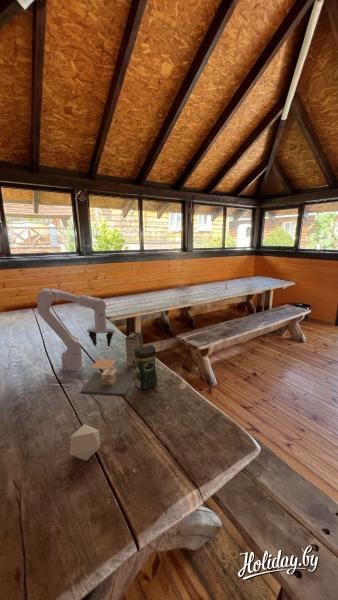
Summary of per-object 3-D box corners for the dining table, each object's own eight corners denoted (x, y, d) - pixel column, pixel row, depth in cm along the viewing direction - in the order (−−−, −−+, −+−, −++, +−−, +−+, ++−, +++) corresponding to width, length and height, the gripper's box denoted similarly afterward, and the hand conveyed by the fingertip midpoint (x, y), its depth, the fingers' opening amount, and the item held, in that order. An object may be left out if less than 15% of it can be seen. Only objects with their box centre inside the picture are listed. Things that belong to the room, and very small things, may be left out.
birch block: (102, 384, 111) (101, 374, 110) (106, 378, 116) (105, 369, 115) (113, 385, 110) (112, 375, 109) (116, 379, 115) (116, 369, 114)
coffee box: (132, 358, 138) (131, 331, 134) (143, 359, 137) (142, 332, 133) (126, 366, 129) (125, 337, 125) (138, 367, 128) (137, 338, 124)
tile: (91, 369, 126) (91, 368, 126) (98, 360, 136) (98, 359, 136) (109, 370, 125) (109, 369, 125) (116, 361, 135) (116, 360, 135)
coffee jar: (151, 377, 118) (151, 341, 114) (159, 385, 111) (159, 347, 107) (133, 383, 113) (131, 346, 109) (139, 392, 107) (138, 352, 102)
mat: (80, 392, 106) (80, 390, 106) (95, 373, 122) (95, 372, 122) (125, 395, 104) (125, 393, 104) (134, 375, 120) (134, 374, 120)
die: (82, 440, 81) (62, 429, 75) (106, 427, 81) (87, 415, 75) (82, 468, 75) (60, 459, 69) (108, 454, 74) (87, 444, 68)
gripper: (116, 319, 133) (117, 343, 136) (90, 318, 134) (92, 342, 137) (111, 323, 126) (113, 348, 129) (84, 322, 127) (86, 347, 130)
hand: (102, 345), depth 133 cm, fingers open, 7 cm apart
